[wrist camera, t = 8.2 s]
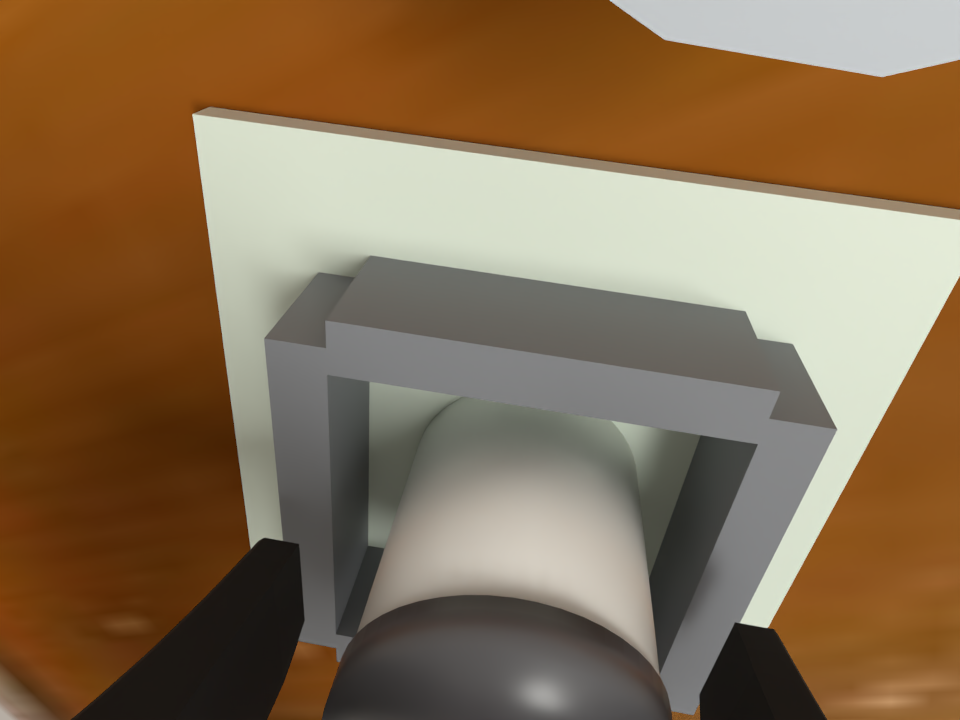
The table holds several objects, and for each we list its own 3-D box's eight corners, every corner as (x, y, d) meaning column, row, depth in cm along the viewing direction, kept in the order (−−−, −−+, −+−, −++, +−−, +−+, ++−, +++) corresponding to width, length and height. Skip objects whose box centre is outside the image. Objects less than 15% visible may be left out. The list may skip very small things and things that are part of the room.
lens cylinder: (674, 412, 13) (737, 703, 8) (603, 577, 16) (616, 874, 11) (427, 356, 13) (331, 610, 8) (399, 530, 16) (313, 804, 11)
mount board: (969, 210, 11) (1090, 295, 8) (729, 669, 18) (753, 793, 15) (209, 106, 12) (100, 153, 9) (267, 585, 19) (215, 688, 16)
